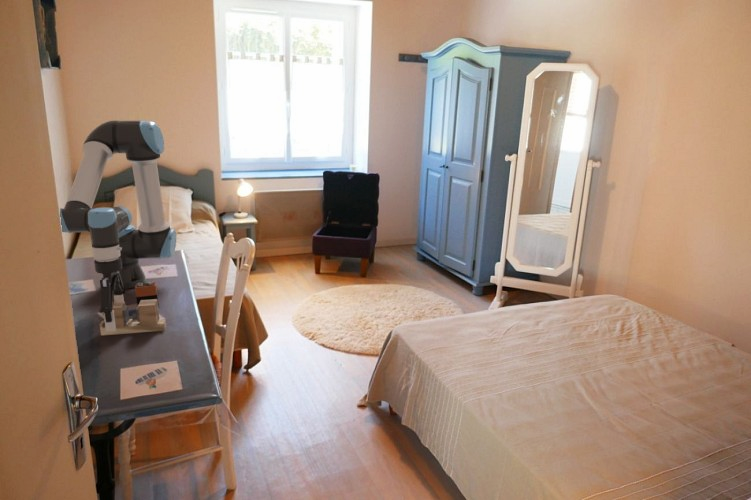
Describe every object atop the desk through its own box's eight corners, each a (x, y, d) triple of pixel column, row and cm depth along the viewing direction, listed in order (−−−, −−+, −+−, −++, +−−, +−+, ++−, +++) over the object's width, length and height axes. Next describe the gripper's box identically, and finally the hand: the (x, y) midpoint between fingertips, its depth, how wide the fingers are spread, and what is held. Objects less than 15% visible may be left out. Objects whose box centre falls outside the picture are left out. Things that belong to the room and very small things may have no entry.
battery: (158, 309, 185) (155, 283, 182) (137, 312, 183) (134, 285, 180) (158, 305, 189) (156, 279, 186) (138, 307, 186) (135, 281, 184)
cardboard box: (110, 322, 168) (107, 302, 166) (130, 321, 169) (127, 301, 167) (106, 329, 163) (103, 308, 161) (126, 327, 164) (124, 307, 162)
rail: (104, 330, 168) (100, 303, 165) (166, 325, 172) (163, 298, 170) (100, 336, 163) (96, 309, 161) (164, 331, 168) (161, 304, 165)
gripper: (111, 270, 149) (120, 337, 155) (129, 246, 172) (136, 306, 178) (82, 271, 147) (92, 339, 153) (104, 247, 170) (112, 307, 176)
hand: (116, 321), depth 166 cm, fingers open, 13 cm apart
